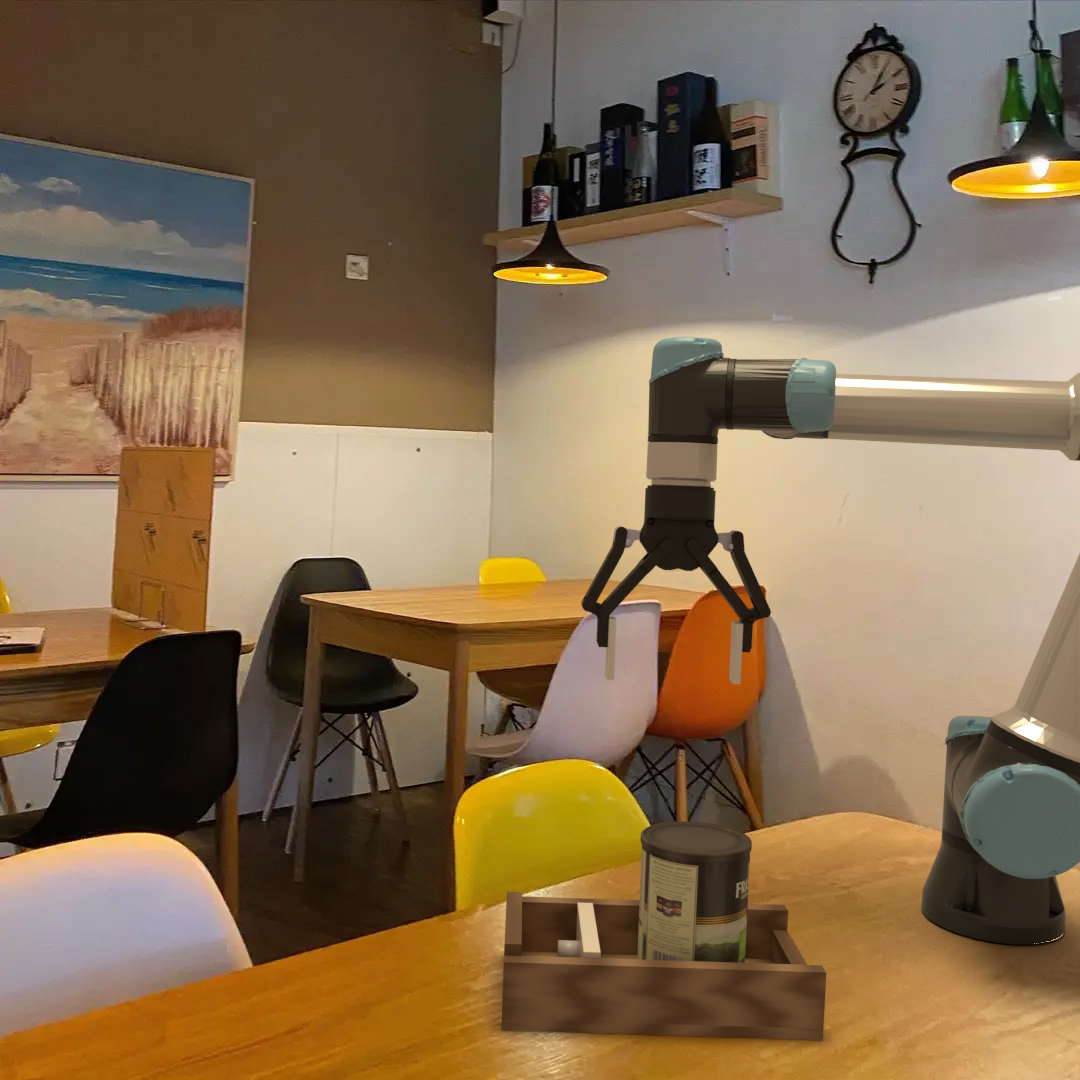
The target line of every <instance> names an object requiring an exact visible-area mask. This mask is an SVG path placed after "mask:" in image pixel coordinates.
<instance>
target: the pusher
mask: <svg viewBox="0 0 1080 1080" xmlns="http://www.w3.org/2000/svg"><path fill="white" fill-rule="evenodd" d="M600 955H601V952H600V946H599V939H598V933H597V927H596V921H595V914H594V908H593V903H577V927H576V941H570V940H558V954H557V957H579V958H600Z"/></svg>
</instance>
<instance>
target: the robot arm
mask: <svg viewBox="0 0 1080 1080" xmlns="http://www.w3.org/2000/svg"><path fill="white" fill-rule="evenodd" d="M650 369H651V370H650V378H649V379H648V385H649V388H648V389H649V390H648V393H649V394H648V422H647V423H648V424H647V425H648V428H647V435H648V436H647V449H646V450H647V453H646V454H647V455H646V471H645V474H646V475H645V478H647V480H651V481H650V482H651V483H650V484H651V485H650V484H649V485H647V487H646V488H644V492H645V494H644V517H643V525H642V526H641V528H640V529H639V530H638V529H631V528H626V527H624V526H623V525H619V526H616V527H615V529H614V532H613V537H612V538H613V539H612V545H611V547H610V549H609V550H608V553H607V555H606V556H605V558H604V560H603V562H602V564H601V566H600V567H599V569H598V571H597V573H596V575H595V576H594V578H593V581H592V582H591V584H590V586H589V588H588V589H587V591H586V592H585V595H584V597H583V598H582V600H581V602H580V603H581V604H580V605H581V607H582V609H583V611H585V612H587V613H590V614H593V615H595V616H596V643H597V646H598V647H599V648H605V649H606V650H605V670H604V671H605V672H604V675H605V676H604V677H605V678H606V680H607V681H609V680H611V681H614V680H615V664H616V663H615V661H616V660H615V659H616V635H617V634H616V633H617V618H616V616H613V615H612V616H611V614H612V613H613V612H614V611H615V610H616V609H617V608H618V607H619V605H620V604H621V603H622V602H623V601H624V600H625V599H626V598H627V597H628V596H629V595H630V594H631V592H632V591H633V590H634V589H635V588H636V587H637V586H638V585H639V584H640V583H641V581H642V580H643V579H645V578H646V577H647V575H648V574H650V572H652V571H653V569H655V567H658V568H659V569H662V570H663V571H673V570H681V571H685V572H693V571H695V570H697V569H698V568H700V570H701V571H702V572H703V573H704V575H705V576H706V577H707V579H708V580H709V581H710V582H711V584H712V585H713V587H715V588H716V590H717V591H718V593H719V594H720V595H721V596H722V597H723V599H724V600H725V602H726V603H727V604H728V606H729V607H730V609H732V611H733V612H734V613H735V614H736V616H737V617H738V620H731V628H730V629H731V630H730V631H731V633H730V647H729V648H730V651H729V652H730V653H729V673H728V676H729V677H728V680H729V681H730V682H731V683H732V684H733V685H741V684H742V683H741V682H742V681H741V680H742V679H741V677H742V658H743V653H750V652H751V650H752V648H753V647H752V646H753V631H754V629H753V628H754V623H755V622H756V621H759V620H762V619H766V618H769V617H770V616H771V614H772V610H771V608H770V605H769V604H768V601H767V599H766V597H765V593H764V592H763V590H762V588H761V586H760V583H759V581H758V579H757V577H756V575H755V571H754V570H753V567H752V565H751V563H750V561H749V559H748V556H747V553H746V552H745V538H744V533H743V532H742V531H739V530H733V529H732V530H731V531H729V532H717V531H716V528H715V527H716V526H715V516H716V514H715V513H716V496H717V495H716V494H717V493H716V490H715V488H714V487H712V485H711V484H712V482H713V483H714V482H716V480H717V471H718V470H717V468H718V443H719V437H718V436H719V430H727V431H728V430H729V431H731V430H732V431H734V430H738V431H739V430H740V431H741V430H743V431H761V432H762V433H763V434H765V435H766V436H768V437H770V438H773V439H780V440H792V439H794V438H797V439H815V440H816V439H817V440H825V439H826V440H843V441H844V440H846V441H847V440H848V441H863V442H865V441H866V442H886V443H902V444H903V443H904V444H907V443H908V444H925V445H926V444H927V445H944V446H945V445H946V446H964V447H965V446H966V447H981V448H982V447H983V448H984V447H987V448H1001V449H1002V448H1005V449H1023V450H1024V449H1025V450H1027V449H1028V450H1029V449H1030V450H1042V451H1059V452H1061V453H1063V455H1064V456H1065V457H1066V458H1067V459H1068V461H1075V462H1076V461H1079V462H1080V372H1077V374H1075V375H1074V376H1073V377H1071V378H1070V379H1069V380H1066V381H1062V380H1061V381H1060V380H1059V381H1058V380H1056V381H1055V380H1031V379H1030V380H1028V379H1002V378H1001V379H998V378H974V377H972V378H971V377H967V378H966V377H940V376H938V377H937V376H915V375H914V376H911V375H907V376H906V375H882V374H881V375H879V374H877V375H876V374H856V373H854V374H853V373H851V374H849V373H837V368H836V365H835V364H834V363H833V362H832V361H830V360H821V359H809V358H807V357H799V358H789V359H786V358H781V359H780V358H774V359H773V358H772V359H771V358H767V359H765V358H760V359H759V358H758V359H757V358H750V359H748V358H747V359H746V358H744V359H743V358H742V359H741V358H740V359H739V358H738V359H737V358H730V357H724V353H723V346H722V343H721V342H720V341H719V340H717V339H715V338H710V337H709V338H708V337H696V336H676V337H675V336H673V337H667V338H662V339H660V340H659V341H658V342H657V343H656V344H655V345H654V347H653V350H652V359H651V368H650ZM635 541H639V543H640V544H641V546H642V548H643V549H644V551H646V553H645V554H644V555H643V557H642V558H641V559H640V560H639V561H638V563H637V564H636V565H635V567H634V568H633V569H632V570H631V571H629V573H627V575H626V576H625V577H624V578H623V579H622V580H621V581H620V582H619V584H618V585H617V586H616V587H615V588H614V589H613V590H612V592H610V594H608V596H607V597H606V598H605V599H604V600H603V601H602V602H601V603H600V602H598V600H599V598H600V596H601V595H602V593H603V591H604V589H605V587H606V585H607V583H608V582H609V580H610V578H611V576H612V575H613V573H614V571H615V570H616V567H617V565H618V563H619V562H620V560H621V558H622V556H623V555H624V551H625V549H629V548H631V547H632V546H633V544H634V543H635ZM718 544H721V545H722V548H723V550H724V551H725V552H729V554H730V557H731V560H732V561H733V564H734V567H735V568H736V570H737V573H738V575H739V577H740V580H741V582H742V584H743V586H744V589H745V591H746V593H747V594H746V595H748V598H749V600H750V603H751V604H752V607H750V608H749V607H747V605H746V603H745V602H744V601H743V600H742V598H741V597H740V596H739V594H738V593H737V592H736V590H735V589H734V588H733V586H731V584H730V583H729V581H728V580H727V579H726V578H725V577H724V575H723V574H722V573H721V572H720V570H719V568H718V567H717V565H716V564H715V563H714V562H713V560H712V559H711V557H709V555H710V554H711V553H712V552H713V551H714V550H715V548H716V547H717V545H718ZM947 727H948V728H947V736H946V737H945V739H944V744H945V745H946V752H945V753H946V755H945V756H946V758H945V770H944V771H945V774H944V787H943V789H944V790H943V809H942V825H941V827H942V828H941V829H942V830H941V840H940V841H941V842H940V846H939V850H938V851H937V853H936V856H935V858H934V861H933V863H932V866H931V869H930V871H929V873H928V875H927V877H926V880H925V882H924V885H923V887H922V891H921V892H922V895H921V911H922V913H923V914H924V916H925V917H926V918H927V919H929V921H931V922H932V923H934V924H936V925H938V926H940V927H942V928H944V929H946V930H948V931H950V932H953V933H955V934H959V935H962V936H965V937H969V938H973V939H976V940H981V941H986V942H991V943H992V942H993V943H996V944H997V943H998V944H1006V945H1018V944H1033V945H1037V944H1036V943H1041V942H1046V941H1051V940H1053V939H1056V938H1058V937H1060V936H1061V935H1062V934H1063V933H1064V934H1065V932H1066V931H1065V930H1066V918H1067V917H1066V916H1067V915H1066V908H1065V905H1064V902H1063V897H1062V894H1061V891H1060V890H1061V889H1060V888H1059V887H1060V886H1059V884H1058V879H1057V876H1060V875H1062V874H1065V873H1066V872H1068V871H1070V870H1071V869H1073V868H1074V867H1076V866H1077V865H1078V864H1079V863H1080V553H1079V554H1078V556H1077V558H1076V561H1075V563H1074V566H1073V567H1072V570H1071V573H1070V575H1069V577H1068V580H1067V582H1066V584H1065V586H1064V589H1063V591H1062V594H1061V596H1060V597H1059V601H1058V603H1057V605H1056V608H1055V610H1054V612H1053V615H1052V617H1051V619H1050V622H1049V624H1048V627H1047V629H1046V631H1045V634H1044V636H1043V637H1042V640H1041V643H1040V645H1039V648H1038V650H1037V652H1036V655H1035V656H1034V659H1033V661H1032V664H1031V666H1030V669H1029V671H1028V673H1027V675H1026V678H1025V680H1024V682H1023V685H1022V688H1021V689H1020V692H1019V694H1018V695H1017V699H1016V701H1015V704H1014V706H1012V707H1011V708H1010V709H1007V710H1004V711H1001V712H998V713H996V714H993V715H992V716H978V715H958V716H955V717H952V719H950V721H949V723H948V726H947ZM1064 931H1065V932H1064ZM1034 943H1035V944H1034Z"/></svg>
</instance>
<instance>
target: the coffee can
mask: <svg viewBox="0 0 1080 1080" xmlns="http://www.w3.org/2000/svg"><path fill="white" fill-rule="evenodd" d="M640 843H641V854H640V859H641V861H640V882H639V883H640V885H639V900H640V903H639V932H638V957H637V959H641V960H672V961H703V962H735V963H745V951H746V929H747V910H748V909H747V908H748V904H749V885H750V884H749V883H750V882H749V879H750V864H751V863H750V861H751V851H752V846H753V842H752V840H751V838H750V837H749V836H748V835H747V834H745V833H743V832H741V831H739V830H737V829H735V828H731V827H728V826H724V825H719V824H714V823H708V822H707V823H706V822H702V821H701V822H699V821H668V822H661V823H656V824H652V825H649V826H646V827H645V828H644V829H642V831H641V832H640Z"/></svg>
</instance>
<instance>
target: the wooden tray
mask: <svg viewBox="0 0 1080 1080" xmlns="http://www.w3.org/2000/svg"><path fill="white" fill-rule="evenodd" d="M577 903H593V908H594V914H595V921H596V927H597V933H598V939H599V946H600V952H601V955H600V958H579V957H557V954H558V940H570V941H576V927H577ZM639 903H640V899H616V898H615V899H611V898H610V899H609V898H607V899H606V898H586V897H585V898H582V897H581V898H580V897H554V896H553V897H549V896H523V891H506V904H505V905H506V906H505V921H504V922H505V923H504V924H505V926H504V927H505V928H504V949H503V950H504V951H503V971H502V972H503V974H502V975H503V976H502V977H503V978H502V997H501V998H502V999H501V1000H502V1002H501V1003H502V1004H501V1022H500V1023H501V1025H500V1026H501V1029H500V1030H501V1031H513V1032H514V1031H517V1032H519V1031H520V1032H521V1031H522V1032H549V1033H550V1032H551V1033H553V1032H555V1033H583V1034H610V1035H611V1034H614V1035H615V1034H617V1035H644V1036H645V1035H646V1036H649V1035H650V1036H652V1035H653V1036H674V1037H675V1036H677V1037H707V1038H709V1037H713V1038H714V1037H715V1038H738V1039H739V1038H741V1039H743V1038H744V1039H770V1038H777V1039H779V1038H782V1039H781V1040H802V1039H803V1040H804V1039H806V1040H808V1041H823V1040H824V1027H825V1010H826V1009H825V1005H826V988H827V986H826V985H827V971H826V970H825V968H824V967H823V965H821V964H807V962H806V960H805V958H804V957H803V955H802V953H801V952H800V949H799V947H798V946H797V944H796V943H795V941H794V939H793V938H792V936H791V934H790V933H789V931H788V920H789V910H788V908H787V906H786V905H785V904H768V903H767V904H765V903H762V904H761V903H748V908H747V909H748V910H747V929H746V951H745V963H735V962H703V961H672V960H641V959H637V957H638V932H639ZM751 1037H752V1038H751ZM784 1038H785V1039H784ZM777 1039H776V1040H777ZM779 1040H780V1039H779Z"/></svg>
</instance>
